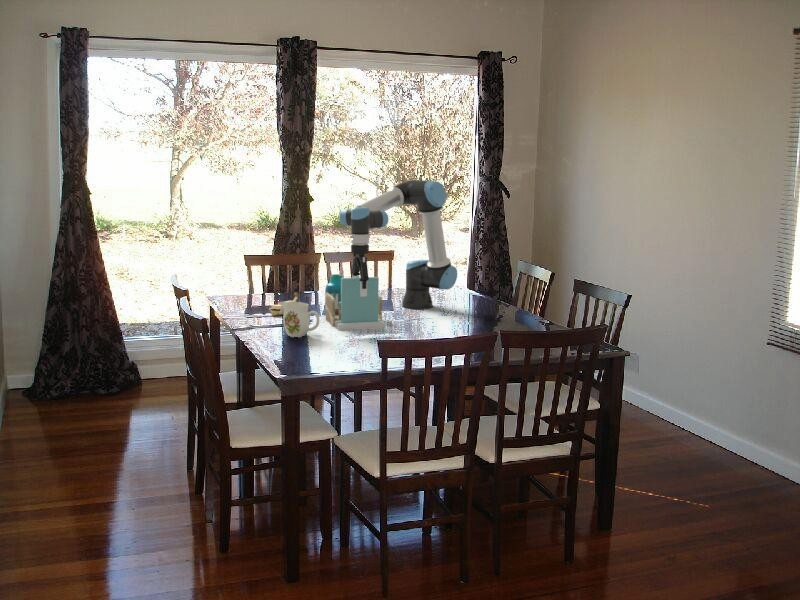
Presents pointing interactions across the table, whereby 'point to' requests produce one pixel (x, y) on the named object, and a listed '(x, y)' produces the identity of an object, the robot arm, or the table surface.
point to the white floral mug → (297, 318)
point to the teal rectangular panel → (359, 301)
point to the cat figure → (278, 308)
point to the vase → (334, 290)
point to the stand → (359, 325)
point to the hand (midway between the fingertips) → (359, 293)
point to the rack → (331, 309)
